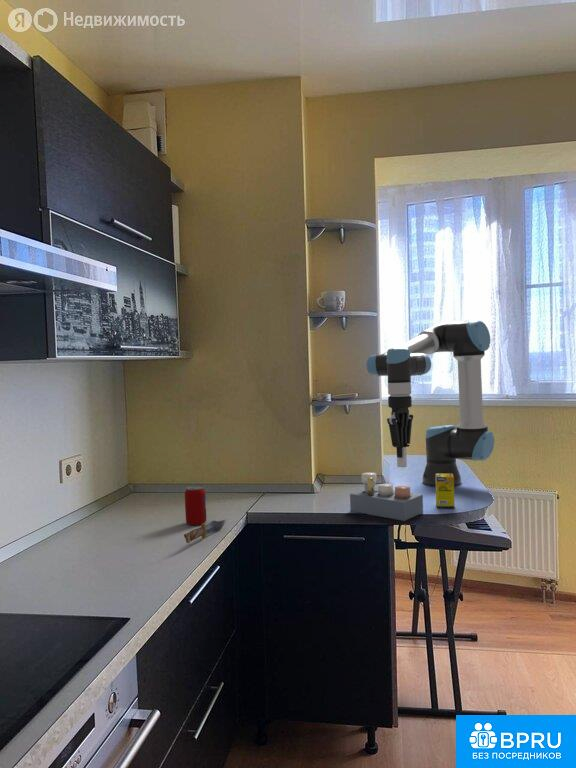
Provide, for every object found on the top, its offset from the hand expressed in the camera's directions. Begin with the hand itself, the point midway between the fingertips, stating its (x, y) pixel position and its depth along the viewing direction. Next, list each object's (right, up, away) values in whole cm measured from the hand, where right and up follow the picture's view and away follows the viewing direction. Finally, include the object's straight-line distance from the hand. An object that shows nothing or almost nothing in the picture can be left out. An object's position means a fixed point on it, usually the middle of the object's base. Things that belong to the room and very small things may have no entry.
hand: (402, 466), depth 191 cm
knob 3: (+1, -15, +1) cm, 15 cm away
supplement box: (+17, -15, +9) cm, 24 cm away
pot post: (-10, -10, +4) cm, 15 cm away
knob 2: (-4, -15, +5) cm, 16 cm away
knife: (-62, -19, -16) cm, 67 cm away
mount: (-4, -16, +5) cm, 17 cm away
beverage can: (-68, -19, 0) cm, 70 cm away
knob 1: (-9, -12, +9) cm, 18 cm away
